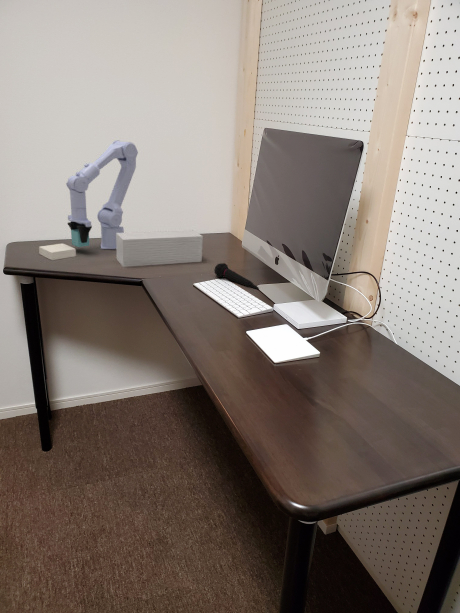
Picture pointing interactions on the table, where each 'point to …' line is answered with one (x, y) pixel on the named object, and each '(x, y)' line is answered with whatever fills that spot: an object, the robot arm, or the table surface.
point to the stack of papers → (158, 247)
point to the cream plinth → (57, 251)
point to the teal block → (78, 239)
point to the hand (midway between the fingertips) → (80, 241)
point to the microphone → (232, 275)
